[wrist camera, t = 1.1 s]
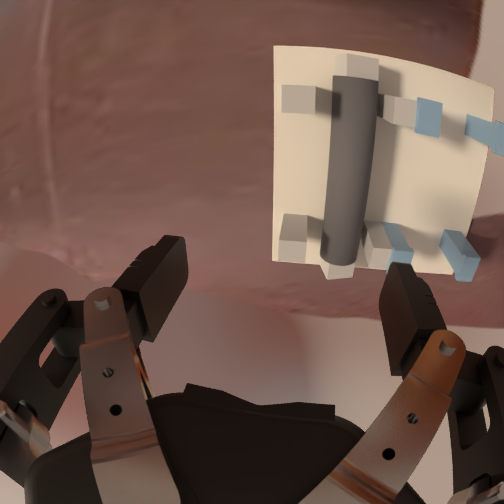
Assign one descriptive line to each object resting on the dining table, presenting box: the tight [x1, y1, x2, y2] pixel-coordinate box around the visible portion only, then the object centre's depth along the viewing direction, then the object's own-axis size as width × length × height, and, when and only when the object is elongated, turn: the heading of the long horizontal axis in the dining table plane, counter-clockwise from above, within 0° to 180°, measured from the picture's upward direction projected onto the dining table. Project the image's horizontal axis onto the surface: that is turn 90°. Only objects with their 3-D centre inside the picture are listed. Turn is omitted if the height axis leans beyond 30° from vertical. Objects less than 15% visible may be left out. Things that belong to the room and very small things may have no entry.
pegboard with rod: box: [272, 46, 504, 282], centre depth 22 cm, size 21×21×6 cm
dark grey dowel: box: [320, 53, 379, 280], centre depth 23 cm, size 20×4×4 cm, turn 1°
